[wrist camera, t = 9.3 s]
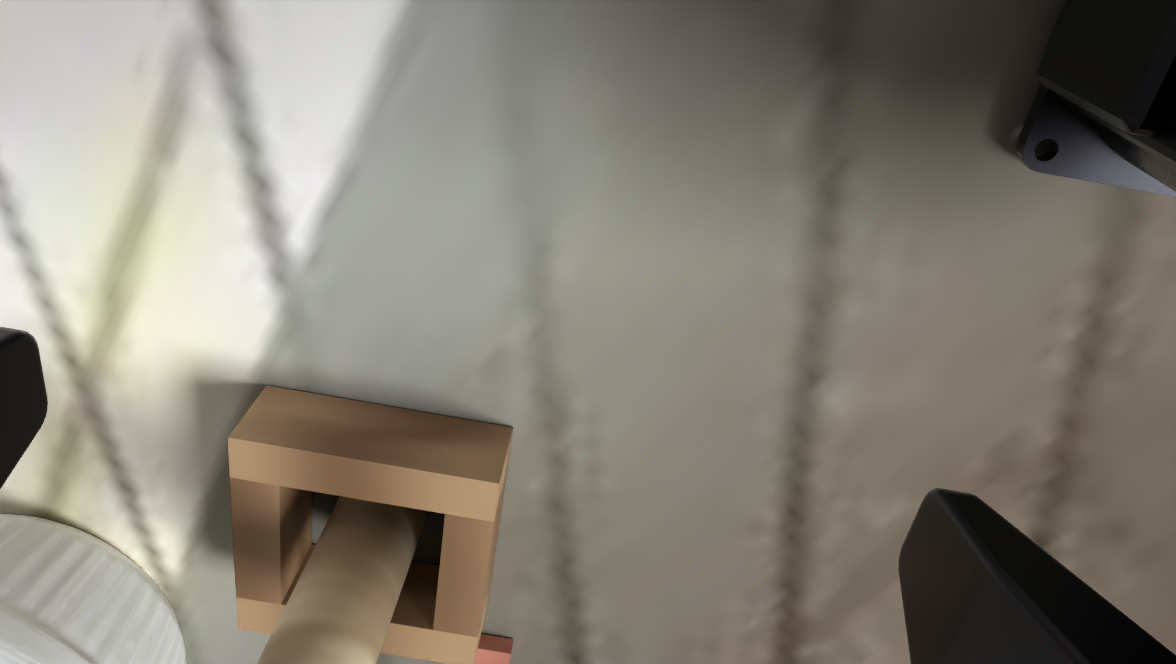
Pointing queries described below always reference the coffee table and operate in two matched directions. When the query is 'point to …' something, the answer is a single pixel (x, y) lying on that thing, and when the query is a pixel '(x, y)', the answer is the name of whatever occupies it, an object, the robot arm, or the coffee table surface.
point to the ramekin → (78, 600)
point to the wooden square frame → (379, 474)
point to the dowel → (348, 586)
